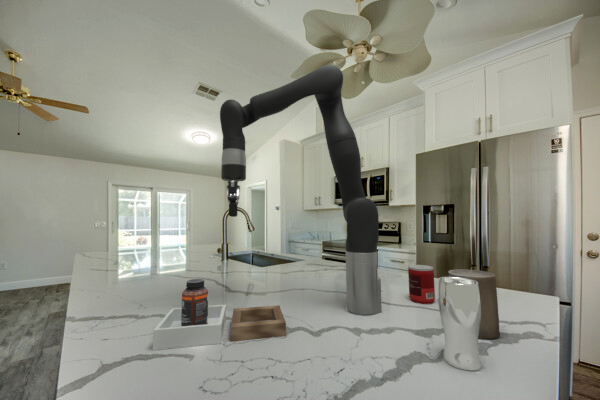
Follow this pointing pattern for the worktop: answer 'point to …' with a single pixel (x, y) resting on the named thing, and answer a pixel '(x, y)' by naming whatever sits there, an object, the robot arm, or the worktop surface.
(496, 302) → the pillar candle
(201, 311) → the supplement bottle
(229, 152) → the robot arm
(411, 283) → the canned food
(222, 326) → the grey tray
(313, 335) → the worktop surface
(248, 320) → the walnut collar
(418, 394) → the worktop surface
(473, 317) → the beer glass
